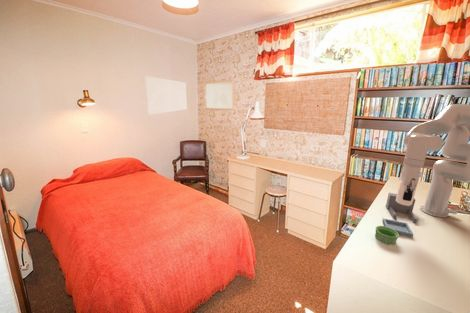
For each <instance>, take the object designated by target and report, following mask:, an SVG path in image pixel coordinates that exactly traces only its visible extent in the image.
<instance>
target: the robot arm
mask: <svg viewBox="0 0 470 313" xmlns="http://www.w3.org/2000/svg"><path fill="white" fill-rule="evenodd" d="M468 127H470V104H465V103H464V104H462V103H461V104H460V103H455V104H449V105H447V106H446V107H444V109H442V111H441V112H440V113H439V114H438V115H437V116H436V117H435V118H434V119H431V120H429V121H428V120H427V121H424V122H422V123H420V124H417V125H415V126H413V128H411V129H410V131H409V132H407V133H406V135H405V137H404V139H403V143H404V145H405V146H406V150H405V154H404V158H403V162H402V163H403V165H402V168H401V172H400V175H399V182H400V181H402V184H403V185H404V186H406V191H405V192H404V195H403V200H407V201H411V199H412V195H413V192H414V189H415V187H416V188H417V186H418V184H419V183H418V182H419V180H420V177H421V176H420V174H421V170H422V169H421V168H423V167H424V166H425V162H426V157H427V154H428V152H436V151H439V150H441V149H442V148H443V149H442V153H441V154H442V156H443V157H444V158H447V159H452V160H456V161H452V160H446V159H440V160H437V161H435V162H434V163H433V166H432V176H431V181H430V184H429V189H428V192H427V195H426V199H425V203H424V205H421V206H420V207H419V210H420V211H422V212H424V213H425V214H426V215H429V216H432V217H433V216H434V217H437V218H448V216H449V214H453V215H458V214H457V213H458V211H457V210H453V209H452V208H448V206H449V202H450V198H451V196H452V193H453V192H452V191H453V189H454V185H453V182H452V180H454V181H458V182H462V183H466V184H468V183H470V143H469V139H470V130H469V128H468ZM447 133H448V134H447ZM439 134H440V135H441V134H447V137H446V139H445V142H444V139H443V138H442V137H441V136H439ZM457 161H462V162H466V163H460V162H457ZM408 185H411V186H408ZM408 187H410V188H409V189H408Z"/></svg>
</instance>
